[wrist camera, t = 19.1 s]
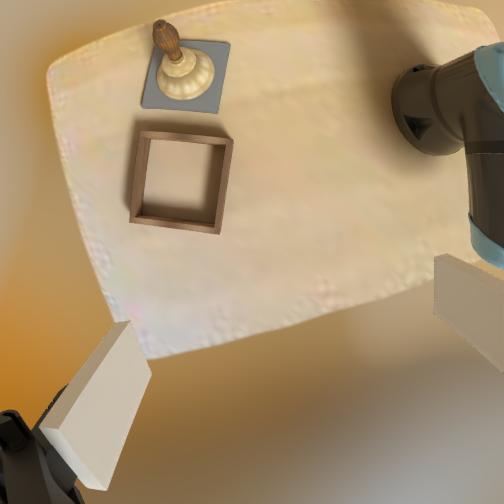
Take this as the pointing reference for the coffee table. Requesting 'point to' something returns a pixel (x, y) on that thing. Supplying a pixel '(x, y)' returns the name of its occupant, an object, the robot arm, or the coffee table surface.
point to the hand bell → (181, 65)
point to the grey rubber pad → (202, 103)
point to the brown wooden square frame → (141, 175)
